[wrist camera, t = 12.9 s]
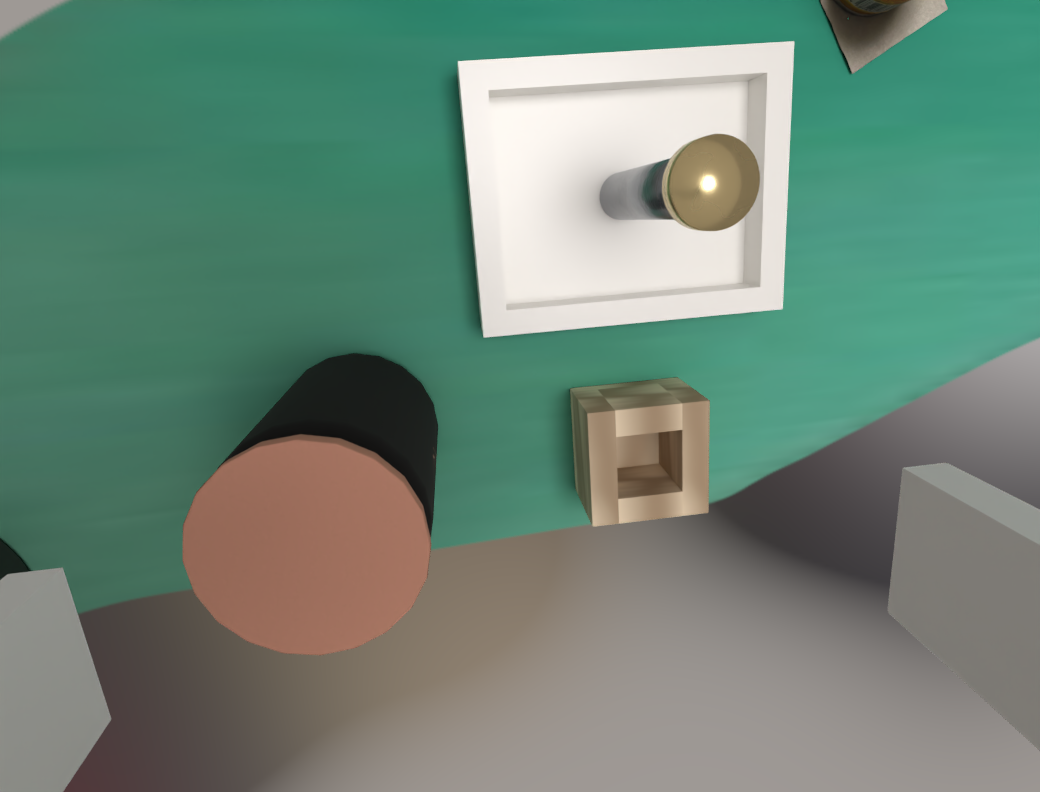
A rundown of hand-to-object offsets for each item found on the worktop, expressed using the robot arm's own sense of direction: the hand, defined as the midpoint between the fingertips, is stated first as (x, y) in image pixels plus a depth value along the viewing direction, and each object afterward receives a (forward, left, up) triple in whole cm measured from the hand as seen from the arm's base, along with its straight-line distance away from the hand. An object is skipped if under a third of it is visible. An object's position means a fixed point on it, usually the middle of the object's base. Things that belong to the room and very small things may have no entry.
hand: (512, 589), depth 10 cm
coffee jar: (-8, -8, -35) cm, 37 cm away
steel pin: (+11, +6, -34) cm, 36 cm away
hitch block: (+11, -11, -35) cm, 38 cm away
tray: (+11, +6, -35) cm, 37 cm away
